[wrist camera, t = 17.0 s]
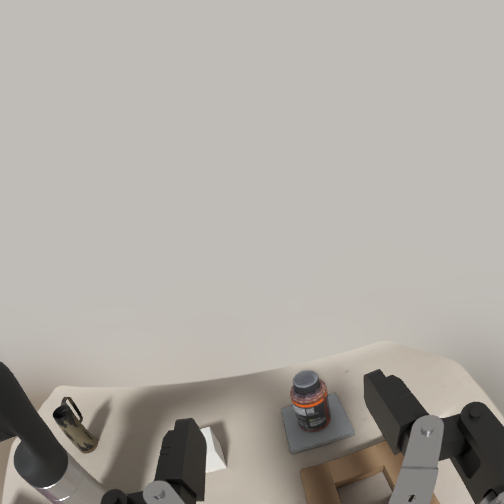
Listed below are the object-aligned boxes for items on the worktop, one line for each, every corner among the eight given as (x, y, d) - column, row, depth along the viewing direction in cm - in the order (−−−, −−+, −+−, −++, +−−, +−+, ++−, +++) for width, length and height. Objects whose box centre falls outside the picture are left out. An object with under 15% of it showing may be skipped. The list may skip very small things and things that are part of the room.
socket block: (321, 557, 16) (320, 555, 15) (301, 476, 32) (299, 469, 31) (436, 511, 16) (441, 506, 15) (397, 442, 32) (398, 434, 31)
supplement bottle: (319, 404, 45) (311, 361, 43) (337, 421, 40) (332, 377, 37) (292, 419, 44) (280, 377, 41) (308, 438, 38) (299, 397, 35)
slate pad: (291, 453, 37) (290, 451, 36) (282, 411, 47) (281, 408, 47) (354, 434, 37) (354, 431, 36) (336, 395, 47) (335, 392, 47)
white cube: (227, 467, 36) (215, 450, 35) (194, 475, 35) (180, 459, 34) (220, 444, 42) (209, 426, 40) (190, 452, 41) (177, 434, 39)
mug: (93, 454, 40) (62, 417, 37) (76, 452, 39) (45, 416, 37) (102, 431, 47) (75, 394, 44) (86, 430, 47) (59, 395, 44)
